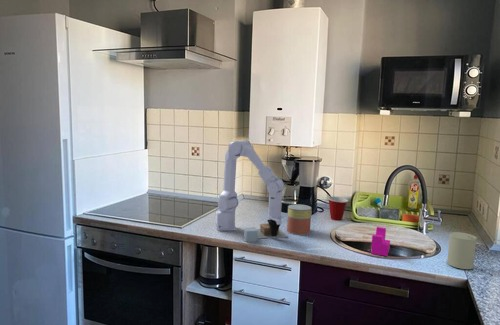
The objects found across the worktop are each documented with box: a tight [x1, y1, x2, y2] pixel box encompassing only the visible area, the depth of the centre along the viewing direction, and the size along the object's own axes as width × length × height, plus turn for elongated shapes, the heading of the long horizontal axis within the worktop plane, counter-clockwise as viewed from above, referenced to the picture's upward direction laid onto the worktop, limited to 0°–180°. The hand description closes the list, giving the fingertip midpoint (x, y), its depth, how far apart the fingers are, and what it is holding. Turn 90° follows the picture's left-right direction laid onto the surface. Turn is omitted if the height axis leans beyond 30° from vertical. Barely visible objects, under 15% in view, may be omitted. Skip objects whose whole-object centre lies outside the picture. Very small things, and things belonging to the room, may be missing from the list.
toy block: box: [370, 226, 391, 257], centre depth 161 cm, size 15×6×8 cm, turn 154°
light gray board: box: [256, 227, 289, 240], centre depth 178 cm, size 14×14×1 cm
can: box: [446, 231, 478, 270], centre depth 145 cm, size 9×9×12 cm
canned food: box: [286, 203, 312, 236], centre depth 181 cm, size 11×11×12 cm
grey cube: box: [243, 227, 258, 243], centre depth 167 cm, size 5×5×5 cm
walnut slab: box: [259, 222, 279, 236], centre depth 177 cm, size 7×7×4 cm
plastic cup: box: [327, 196, 349, 222], centre depth 203 cm, size 11×11×12 cm
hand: (273, 235), depth 171 cm, fingers closed
